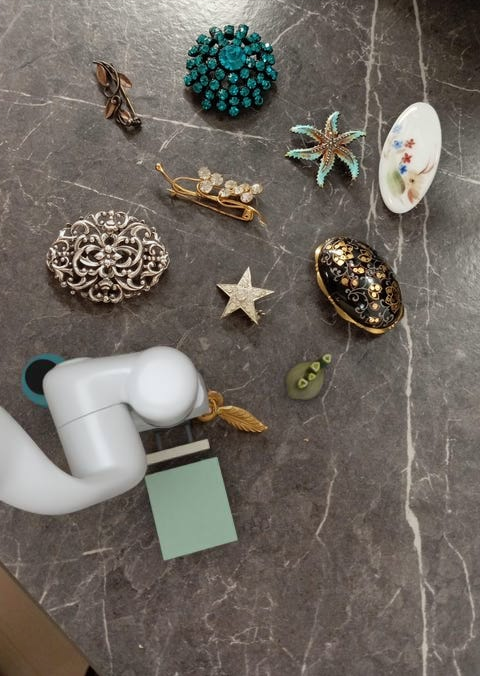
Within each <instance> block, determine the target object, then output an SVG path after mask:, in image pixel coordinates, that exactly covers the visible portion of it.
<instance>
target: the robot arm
mask: <svg viewBox="0 0 480 676" xmlns="http://www.w3.org/2000/svg"><path fill="white" fill-rule="evenodd" d="M43 390H44V395H45V398H46V401H47V404H48V407H49V409H50V410H49V409H48V410H49V412H50V416H51V418H52V420H53V424H54V426H55V429H56V432H57V436H58V438H59V441H60V444H61V446H62V449H63V452H64V456H65V459H66V461H67V464H68V468H69V470H70V473H71V475H70V474H68V473H66V472H65V471H64V470H62V469H60V467H58V466H57V465H56V464H54V462H53V461H51V460H50V458H49V457H47V455H46V454H45V453H44V452H43V451H42V449H41V448H40V447H39V445H37V443H36V442H35V441H34V440H33V439H32V437H31V436H30V435H29V434H28V433H27V432H26V430H25V429H24V427H22V426H21V425H20V424H19V422H17V421H16V419H14V417H13V416H12V415H11V414H10V413H9V412H8V411H7V410H6V409H5V408H4V407H3V406H2V405H0V502H3V503H4V504H6V505H9V506H11V507H13V508H16V509H18V510H21V511H25V512H29V513H32V514H37V515H44V516H45V515H46V516H58V515H59V516H60V515H66V514H71V513H75V512H78V511H81V510H84V509H86V508H89V507H92V506H95V505H97V504H99V503H102V502H105V501H108V500H110V499H114V498H115V497H118V496H120V495H122V494H124V493H126V492H128V491H130V490H131V489H133V488H134V487H136V486H137V485H139V484H140V482H141V481H142V480H143V479H144V478H145V476H146V473H147V469H148V465H147V457H146V455H147V454H146V450H145V448H144V444H143V441H142V439H141V435H140V433H141V432H145V431H149V430H152V429H154V428H169V427H173V426H176V425H178V424H180V423H182V422H183V421H184V420H187V419H190V420H191V419H194V418H197V417H201V416H203V415H206V414H207V413H208V412H209V410H210V408H211V407H210V406H211V405H210V399H209V393H208V389H207V386H206V384H205V381H204V379H203V376H202V374H201V372H199V371H198V370H197V369H196V366H195V364H194V363H193V362H192V360H191V359H190V358H189V356H187V355H186V353H184V352H183V351H181V350H179V349H177V348H174V347H170V346H166V345H157V346H152V347H149V348H147V349H144V350H141V351H135V352H128V353H122V354H117V355H109V356H102V357H94V358H93V357H90V356H86V357H85V356H83V357H81V356H80V357H75V358H70V359H66V361H64V362H62V363H59V364H58V365H56V366H55V367H54V368H53V369H51V370H50V371H49V372H48V373H47V374H46V375H45V377H44V379H43Z"/></svg>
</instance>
